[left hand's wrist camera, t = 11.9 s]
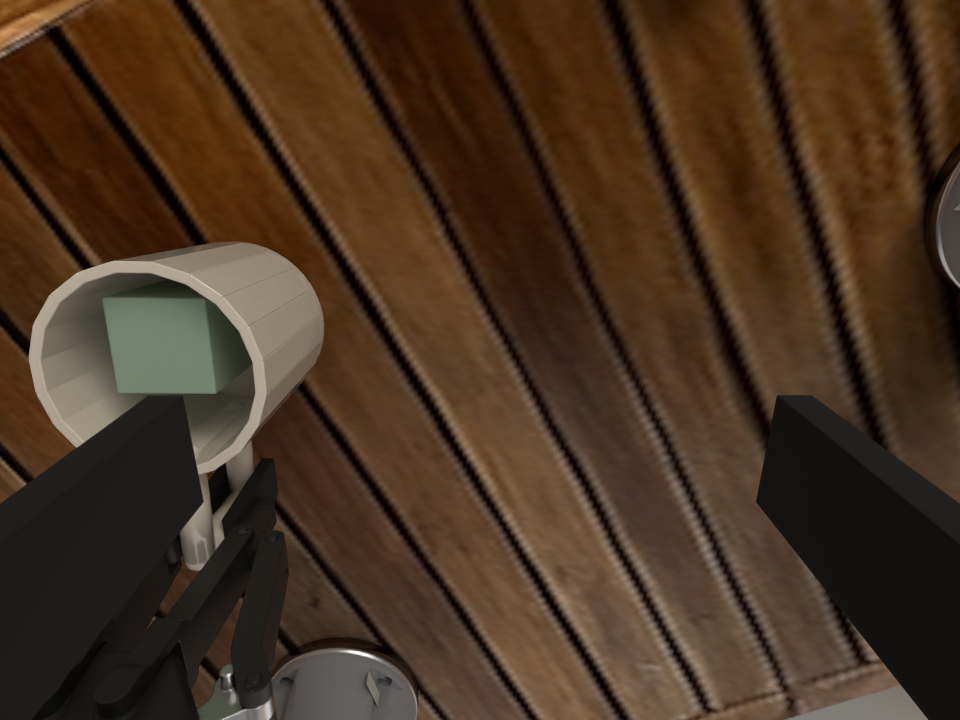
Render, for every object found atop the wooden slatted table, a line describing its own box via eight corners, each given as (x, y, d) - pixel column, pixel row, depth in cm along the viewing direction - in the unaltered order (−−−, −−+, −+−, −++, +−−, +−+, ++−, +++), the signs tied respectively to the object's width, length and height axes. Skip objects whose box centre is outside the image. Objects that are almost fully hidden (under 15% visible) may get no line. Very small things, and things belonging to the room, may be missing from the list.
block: (271, 272, 34) (204, 298, 25) (277, 346, 35) (215, 394, 26) (194, 271, 34) (100, 297, 25) (203, 345, 35) (117, 394, 26)
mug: (150, 240, 34) (7, 259, 23) (319, 242, 34) (254, 263, 23) (184, 486, 38) (78, 597, 28) (334, 486, 39) (284, 596, 28)
